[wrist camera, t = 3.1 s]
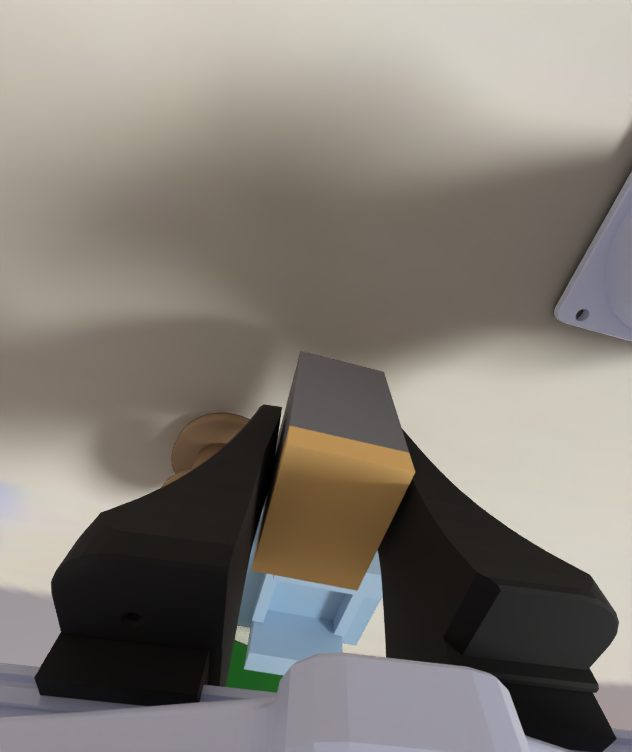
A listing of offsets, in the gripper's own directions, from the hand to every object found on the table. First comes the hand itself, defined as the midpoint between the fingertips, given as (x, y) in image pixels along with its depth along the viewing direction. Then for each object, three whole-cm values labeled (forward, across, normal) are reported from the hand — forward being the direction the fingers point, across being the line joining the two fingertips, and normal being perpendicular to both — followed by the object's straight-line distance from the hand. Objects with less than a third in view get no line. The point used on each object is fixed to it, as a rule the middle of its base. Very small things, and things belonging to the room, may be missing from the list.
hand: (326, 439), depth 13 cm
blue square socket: (+5, -2, +14) cm, 15 cm away
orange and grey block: (+2, 0, 0) cm, 2 cm away
